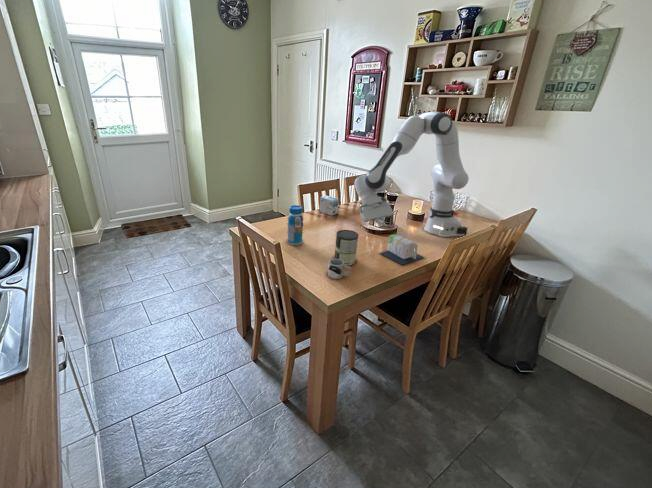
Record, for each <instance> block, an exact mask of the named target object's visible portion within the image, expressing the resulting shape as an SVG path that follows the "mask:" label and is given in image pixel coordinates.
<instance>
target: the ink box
mask: <svg viewBox="0 0 652 488" xmlns="http://www.w3.org/2000/svg"><path fill="white" fill-rule="evenodd" d="M418 248H419V245H418V243H416V242H413V241H412V240H410V239H408V238H406V237H403V236H401V235H399V234H398V233H394V234H390V235H388V241H387V248H386V251H390V252H392V253H394V254H395V255H397V256H399V257H401V258H403V259H406V258H409V257H412V258H414V259H416V254H418Z"/></svg>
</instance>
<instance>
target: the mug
mask: <svg viewBox="0 0 652 488" xmlns="http://www.w3.org/2000/svg"><path fill="white" fill-rule="evenodd" d="M344 269H348V272H344ZM351 274H352V267H351V266H350V265H345V264H344V261H343V260H341V259H334V258H331V259H329V260H328V269H327V276H328V277H329V278H330V279H333V280H340V279H342V278H344V277H350V276H351Z"/></svg>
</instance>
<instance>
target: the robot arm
mask: <svg viewBox="0 0 652 488" xmlns="http://www.w3.org/2000/svg"><path fill="white" fill-rule="evenodd" d="M423 134H425V135H434V136H435V152H436V160H437V161H438V164H437V163H436V164H435V165H434V166H433V167H432V169H431V171H430V176H431V179H432V182H433V196H432V203H431V206H430V209H429V212H428V218H427V221H426V223H425V225H424V227H423V230H424V231H425V232H426V233H429V234H432V235H436V236H437V237H442V238H449V237H464V236H465V235H466V234H467V232H468V229H469V228H468V227H467V226H463V225H462V223H461V221H460V220H458V218H457V217H455V216H458V214H459V213H458V212H457V211H456V210H454V209H453V207H454V202H455V197H456V196H455V194H454V191H453V190H461V189H463V188H465V187H466V186H467V185H468V183H469V178H470V177H469V175H468V173H467V172H466V170H465V168H464V165H463V163H462V159H461V155H460V143H459V141H460V140H459V131H458V127H457V123H456V122H455V121H454V120H453V119H452V116H451V115H449V114H448V113H447V112H444V111H423V112H420V113H419V114H417V115H411V116H409V117H408V118H407V119H406V120H405V121H404V123H403V124H402V125H401V127H400V128H399V129H398V131H397V132H396V134H395V136H394V138H393V139H392V141H391V143H390V144H389V145H388V147H387V148H386V150H385V151H384V152H383V154H382V155H381V157H380V158H379V159H378V161H377V162H376V164H375V165H374V166H373V167H372V168H370V169H369V170H368V171H367V172H366V173H365V174H364V173H363V174H360V175H358V176H357V177H356V179H354V185H353V186H354V189H355V191H356V193H357V195H358V197H359V198H360V201H361V203H362V204H360V205H359V206H358V209H357V210H358V211H359V215H360V218H361V221H362V222H364V223H368V222H372V221H374V222H375V223H376V224H377V225H378V226H379V228H382V227H385V226H386V223H385V218H389V217H391V216H392V215H393V214H394V210H393V209H392V207H391V205H390V203H389V202H388V199H387V198H386V197H384V196H383V197H382V196H379V195H378V194H379V193H382V192H384V191H386V190H388V189H389V188H390V185H391V179H390V177H389V176H388V175H387V172H388V171H389V170H390V168H391V166H392V165H393V164H394V162H395V160H396V159H397V158H398V157H401V156H404V155H408V154H409V153H410V152H411V151H412V150H413V149H414V148H415V146H416V145H417V143H418V141H419V139H420V138H421V136H422V135H423Z"/></svg>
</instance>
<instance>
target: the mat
mask: <svg viewBox="0 0 652 488" xmlns="http://www.w3.org/2000/svg"><path fill="white" fill-rule="evenodd" d="M379 255H381V256H383V257H385V258H387V259H389V260H391V261H393V262H395V263H397V264H399V265H400V266H405V265H408V264H411V263H414V262H416V261H419V260H422V259H424V256H422V255H420V254H418V253H417V254H416V259H414V258H412V257H409V258H406V259H403V258H401V257H399V256H397V255H395V254H394V253H392V252H390V251H388V250H385V251H383V252H380V254H379Z"/></svg>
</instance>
